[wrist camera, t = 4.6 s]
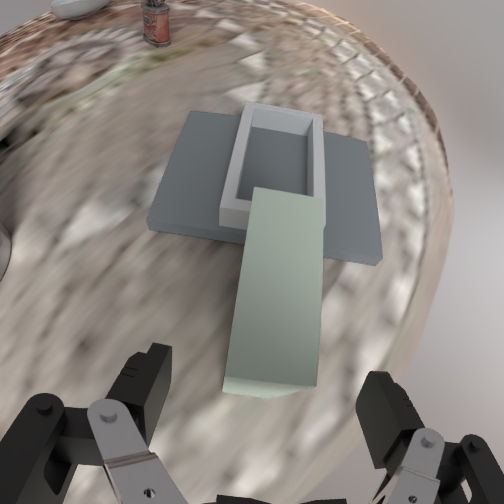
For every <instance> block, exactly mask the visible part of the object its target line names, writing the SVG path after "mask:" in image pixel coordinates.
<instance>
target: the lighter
mask: <svg viewBox="0 0 504 504" xmlns="http://www.w3.org/2000/svg"><path fill="white" fill-rule="evenodd" d="M162 2H165V0H147V1H146V2H143V3H141V8H142V10H143V24H144V34H143V38H144V40H145V41H146V42H147V43H148V44H150V45H152V46H154V47H157V48H163V47H167V46H169V45H170V38H169V21H168V12H169V6H168V5H167V4H165V3H162Z"/></svg>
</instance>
